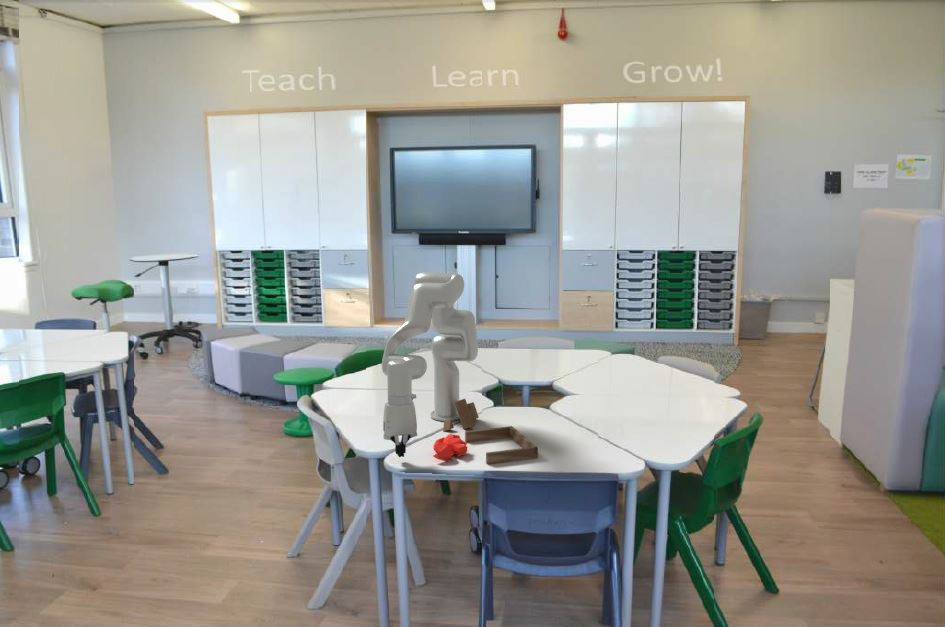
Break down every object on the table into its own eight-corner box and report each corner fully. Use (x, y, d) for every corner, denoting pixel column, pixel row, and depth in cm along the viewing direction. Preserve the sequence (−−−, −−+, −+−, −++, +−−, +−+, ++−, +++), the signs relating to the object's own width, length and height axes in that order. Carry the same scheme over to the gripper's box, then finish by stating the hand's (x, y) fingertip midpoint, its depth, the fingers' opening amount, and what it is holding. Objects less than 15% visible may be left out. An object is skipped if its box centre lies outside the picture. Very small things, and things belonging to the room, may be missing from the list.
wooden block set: (470, 424, 264) (461, 398, 265) (488, 419, 260) (479, 392, 261) (444, 436, 249) (435, 408, 250) (463, 430, 245) (454, 402, 246)
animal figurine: (428, 464, 219) (427, 449, 218) (435, 447, 234) (435, 433, 233) (464, 465, 218) (464, 450, 217) (470, 448, 233) (470, 433, 232)
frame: (465, 441, 239) (465, 431, 238) (511, 435, 244) (511, 426, 244) (487, 464, 218) (487, 453, 218) (537, 457, 224) (537, 447, 223)
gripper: (420, 394, 223) (420, 449, 226) (373, 398, 218) (374, 454, 221) (426, 400, 216) (426, 457, 219) (378, 404, 211) (379, 462, 214)
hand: (400, 455), depth 220 cm, fingers closed
